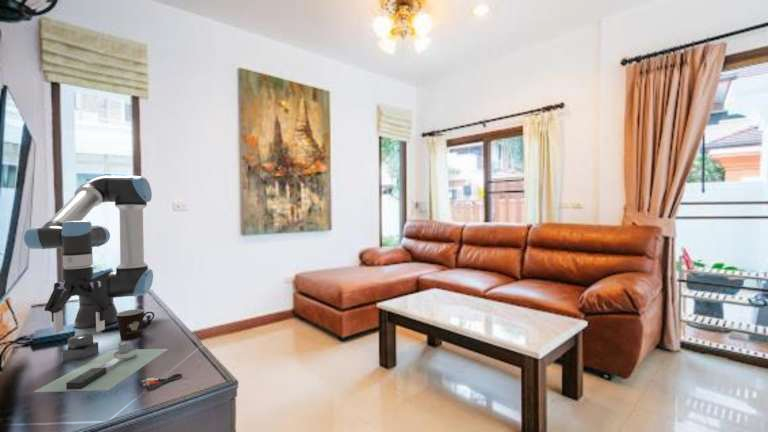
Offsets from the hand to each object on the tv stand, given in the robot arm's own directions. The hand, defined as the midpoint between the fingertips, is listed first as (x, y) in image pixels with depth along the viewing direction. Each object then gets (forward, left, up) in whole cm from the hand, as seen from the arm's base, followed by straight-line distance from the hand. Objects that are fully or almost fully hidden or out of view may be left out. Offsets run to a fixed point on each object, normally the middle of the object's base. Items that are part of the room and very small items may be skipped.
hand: (79, 331), depth 117 cm
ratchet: (+10, +16, -9) cm, 21 cm away
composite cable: (+19, +38, -10) cm, 43 cm away
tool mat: (+9, +16, -9) cm, 20 cm away
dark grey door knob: (0, 0, -9) cm, 9 cm away
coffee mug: (-18, +6, -9) cm, 21 cm away
